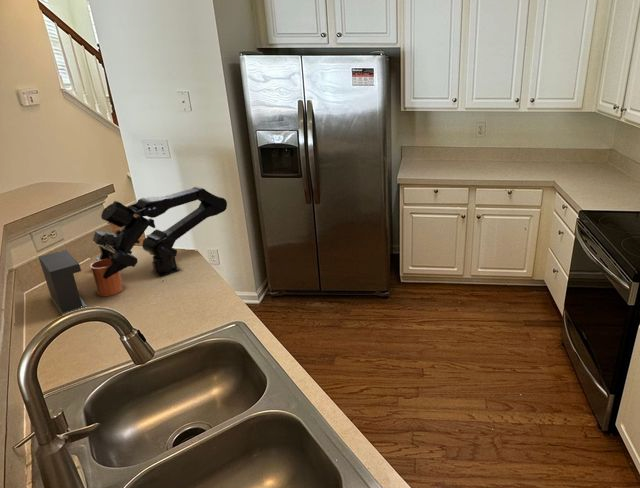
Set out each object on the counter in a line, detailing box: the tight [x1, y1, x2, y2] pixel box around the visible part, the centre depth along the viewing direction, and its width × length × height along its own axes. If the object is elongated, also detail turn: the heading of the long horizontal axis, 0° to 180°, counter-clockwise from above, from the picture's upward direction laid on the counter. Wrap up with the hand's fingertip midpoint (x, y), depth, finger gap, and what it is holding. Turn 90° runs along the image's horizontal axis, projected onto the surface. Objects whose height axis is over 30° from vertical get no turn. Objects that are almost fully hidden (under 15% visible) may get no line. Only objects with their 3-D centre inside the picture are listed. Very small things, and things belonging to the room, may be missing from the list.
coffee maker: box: [38, 249, 88, 316], centre depth 131 cm, size 7×14×15 cm, turn 49°
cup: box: [89, 259, 124, 297], centre depth 139 cm, size 7×7×10 cm
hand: (100, 274), depth 137 cm, fingers closed on cup, 7 cm apart
